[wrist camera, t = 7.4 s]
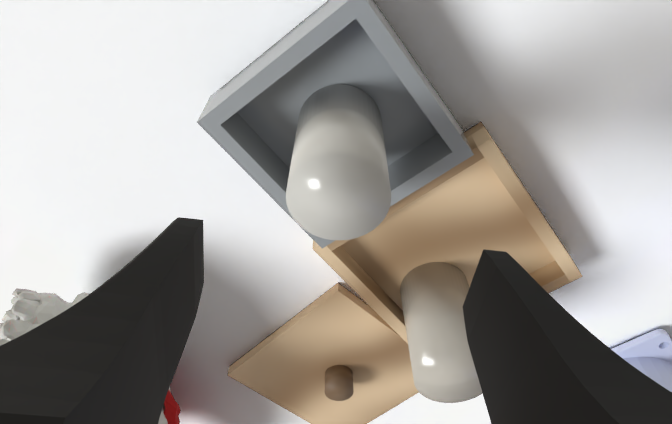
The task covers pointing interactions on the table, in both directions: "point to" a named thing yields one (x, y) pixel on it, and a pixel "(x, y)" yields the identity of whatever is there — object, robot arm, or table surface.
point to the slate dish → (329, 69)
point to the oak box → (452, 232)
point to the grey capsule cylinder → (438, 332)
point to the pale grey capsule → (339, 165)
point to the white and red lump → (45, 306)
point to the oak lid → (331, 363)
